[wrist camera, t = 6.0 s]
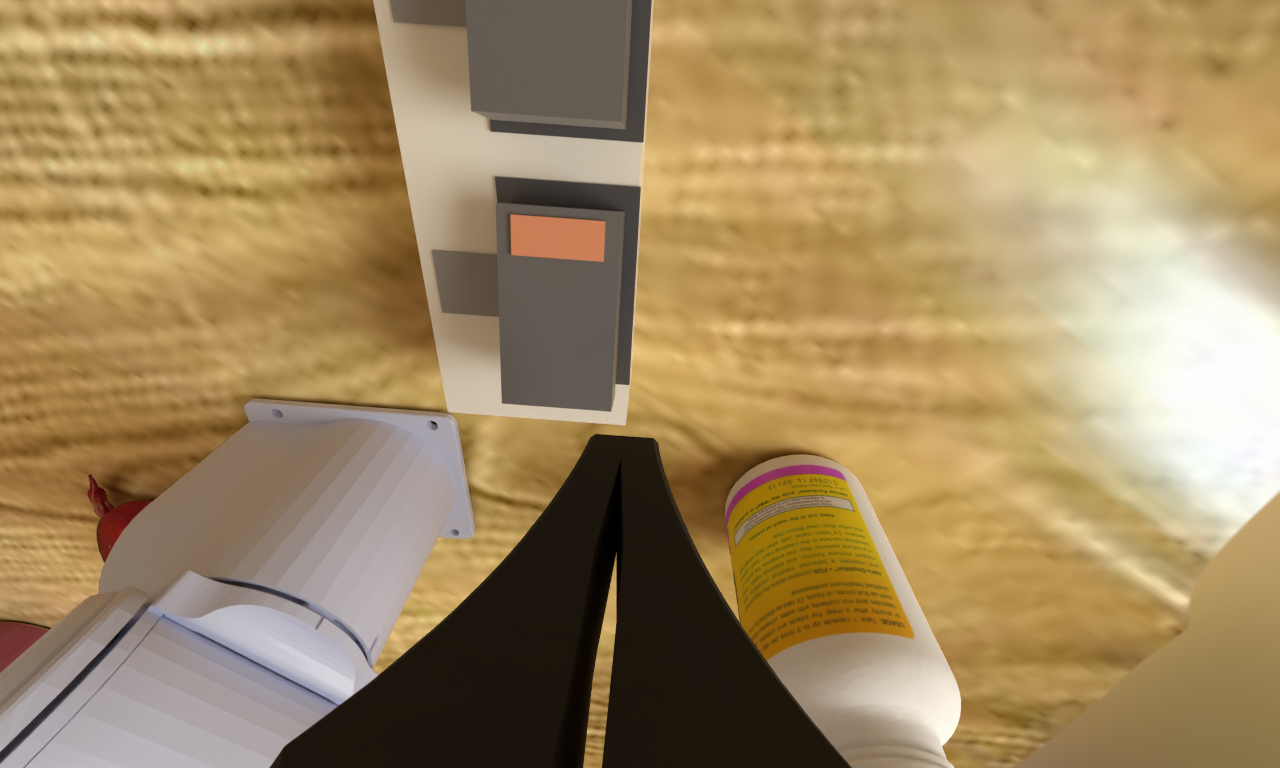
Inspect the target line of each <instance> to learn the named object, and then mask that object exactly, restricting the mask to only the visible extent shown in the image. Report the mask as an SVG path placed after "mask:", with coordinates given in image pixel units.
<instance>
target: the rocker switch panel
mask: <svg viewBox="0 0 1280 768" xmlns="http://www.w3.org/2000/svg"><path fill="white" fill-rule="evenodd" d="M373 2H374V8H375V14H376V19H377V25H378V30H379V36H380V41H381V47H382V52H383V58H384V63H385V69H386V74H387V80H388V85H389V91H390V96H391V102H392V107H393V113H394V118H395V124H396V129H397V135H398V140H399V146H400V151H401V157H402V162H403V168H404V173H405V179H406V184H407V190H408V195H409V201H410V206H411V212H412V217H413V223H414V228H415V234H416V239H417V245H418V250H419V256H420V261H421V267H422V272H423V278H424V283H425V289H426V294H427V300H428V305H429V311H430V316H431V322H432V327H433V333H434V339H435V344H436V350H437V355H438V361H439V366H440V372H441V377H442V383H443V388H444V394H445V399H446V405H447V410H448V412H454V413H468V414H481V415H494V416H507V417H521V418H534V419H547V420H561V421H574V422H587V423H600V424H614V425H626V418H627V410H628V401H629V392H630V384H631V374H632V357H633V340H634V324H635V307H636V290H637V274H638V257H639V240H640V224H641V207H642V190H643V173H644V157H645V140H646V123H647V107H648V90H649V73H650V57H651V40H652V23H653V6H654V0H632V17H631V37H630V57H629V77H628V96H627V116H626V129H612V128H599V127H585V126H571V125H557V124H543V123H529V122H515V121H501V120H491V119H489V118H486V117H484V116H482V115H479V114H477V113H475V112H472V111H471V98H470V80H469V61H468V42H467V23H466V4H465V0H373ZM496 203H517V204H530V205H544V206H558V207H572V208H585V209H599V210H613V211H625V221H624V239H623V257H622V275H621V294H620V312H619V330H618V349H617V367H616V385H615V397H614V401H613V406H612V410H611V412H607V411H594V410H581V409H567V408H554V407H541V406H528V405H514V404H502V396H501V363H500V331H499V299H498V266H497V234H496Z"/></svg>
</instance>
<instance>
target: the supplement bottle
mask: <svg viewBox="0 0 1280 768" xmlns="http://www.w3.org/2000/svg"><path fill="white" fill-rule="evenodd" d="M725 520H726V528H727V535H728V542H729V549H730V556H731V563H732V570H733V576H734V584H735V590H736V598H737V605H738V612H739V619H740V624H741V626H742V627H743V629H744V630H745V631H746V633H747V634H748V636H749V637H750V638H751V640H752V641H753V643H754V644H755V645H756V647H757V648H758V650H759V651H760V652H761V654H762V655H763V657H764V658H765V659H766V661H767V662H768V664H769V665H770V666H771V668H772V669H773V671H774V672H775V673H776V675H777V676H778V678H779V679H780V680H781V682H782V683H783V684H784V685H785V687H786V688H787V689H788V691H789V692H790V693H791V694H792V696H793V697H794V698H795V699H796V701H797V702H798V703H799V705H800V706H801V707H802V708H803V710H804V711H805V712H806V713H807V715H808V716H809V717H810V719H811V720H812V721H813V722H814V723H815V725H816V726H817V727H818V728H819V729H820V731H821V732H822V733H823V734H824V735H825V737H826V738H827V739H828V740H829V741H830V743H831V744H832V745H833V746H834V747H835V749H836V750H837V751H838V752H839V753H840V754H841V755H842V757H843V758H844V759H845V760H846V761H847V762H848V764H849V765H850V766H851V767H852V768H954V766H953V765H952V764H951V763H950V762H948V761H947V759H946V756H945V753H944V751H943V748H942V746H943V745H944V744H945V743H946V742H947V741H948V739H949V738H950V737H951V736H952V734H953V733H954V731H955V729H956V727H957V724H958V721H959V718H960V711H961V699H960V692H959V689H958V686H957V683H956V680H955V678H954V676H953V673H952V671H951V669H950V667H949V665H948V663H947V661H946V659H945V656H944V654H943V652H942V650H941V648H940V646H939V644H938V642H937V640H936V638H935V636H934V634H933V632H932V630H931V628H930V626H929V624H928V622H927V620H926V618H925V615H924V613H923V611H922V609H921V607H920V605H919V603H918V601H917V599H916V597H915V595H914V593H913V591H912V589H911V587H910V584H909V582H908V580H907V578H906V576H905V574H904V572H903V570H902V568H901V566H900V564H899V562H898V560H897V557H896V555H895V553H894V551H893V549H892V547H891V545H890V543H889V541H888V539H887V537H886V535H885V532H884V530H883V528H882V526H881V524H880V522H879V520H878V518H877V516H876V514H875V511H874V509H873V507H872V505H871V503H870V501H869V499H868V497H867V495H866V493H865V491H864V489H863V487H862V485H861V484H860V482H859V481H858V479H857V478H856V477H855V476H854V475H853V473H851V472H850V471H849V470H848V469H847V468H845V467H844V466H842V465H840V464H839V463H837V462H835V461H832V460H830V459H827V458H824V457H820V456H815V455H803V454H799V455H787V456H782V457H778V458H774V459H771V460H768V461H765V462H763V463H761V464H759V465H757V466H755V467H753V468H752V469H750V470H749V471H747V472H746V473H745V474H744V475H743V476H742V477H741V478H740V479H739V480H738V481H737V482H736V483H735V485H734V486H733V487H732V489H731V491H730V493H729V495H728V498H727V501H726V505H725Z"/></svg>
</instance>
